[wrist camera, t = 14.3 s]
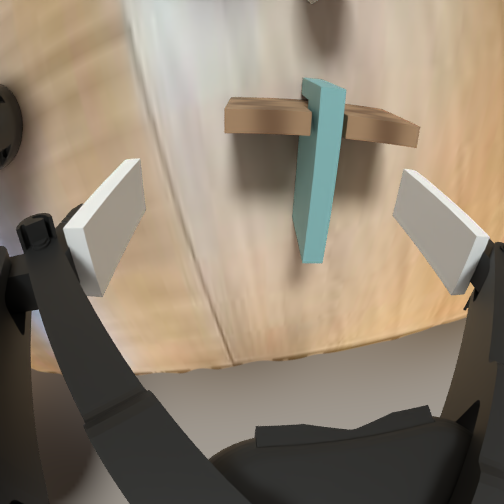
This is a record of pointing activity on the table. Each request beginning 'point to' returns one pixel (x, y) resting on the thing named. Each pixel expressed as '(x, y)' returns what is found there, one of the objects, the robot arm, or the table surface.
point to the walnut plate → (299, 118)
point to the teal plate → (317, 167)
